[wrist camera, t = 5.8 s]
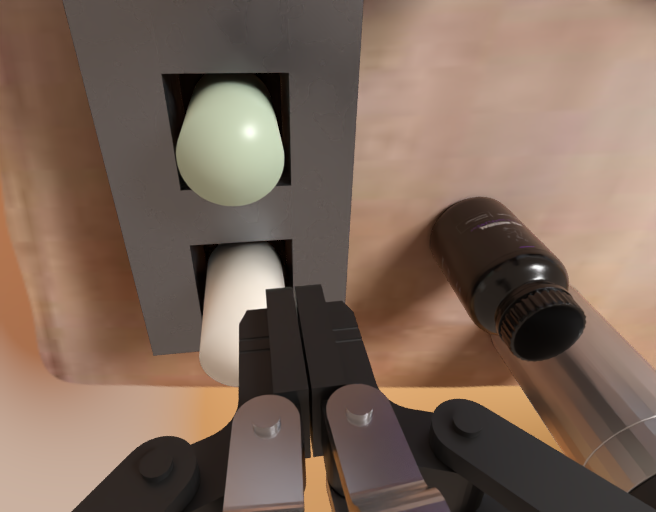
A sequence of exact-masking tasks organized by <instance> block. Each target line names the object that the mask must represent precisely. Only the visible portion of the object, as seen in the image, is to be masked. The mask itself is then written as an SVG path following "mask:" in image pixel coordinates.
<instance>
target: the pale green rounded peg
mask: <svg viewBox="0 0 656 512" xmlns="http://www.w3.org/2000/svg"><path fill="white" fill-rule="evenodd" d="M176 159H177V164H178V168H179V171H180V173H181V175H182V177H183V179H184V181H185V182H186V183H187V185H188V186H189V187H190V188H191V189H192V190H193V191H194V192H195V193H196V194H198V195H199V196H200V197H202V198H204V199H206V200H208V201H210V202H212V203H215V204H219V205H223V206H243V205H247V204H250V203H253V202H256V201H258V200H260V199H261V198H263V197H264V196H266V195H267V194H268V193H269V192H270V191H271V190H272V189H273V188H274V187H275V186H276V184H277V183H278V181H279V179H280V177H281V174H282V171H283V167H284V150H283V146H282V141H281V137H280V133H279V128H278V124H277V120H276V116H275V111H274V107H273V103H272V98H271V95H270V93H269V91H268V89H267V87H266V86H265V84H264V83H263V82H262V81H261V80H260V79H259V78H258V77H257V76H256V75H255V74H253V73H206V74H205V75H204V76H203V77H202V78H201V79H200V80H199V81H198V83H197V84H196V86H195V88H194V90H193V93H192V96H191V100H190V103H189V106H188V109H187V113H186V116H185V119H184V122H183V126H182V129H181V132H180V135H179V139H178V142H177V147H176Z"/></svg>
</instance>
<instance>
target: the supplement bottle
mask: <svg viewBox="0 0 656 512" xmlns="http://www.w3.org/2000/svg"><path fill="white" fill-rule="evenodd" d="M430 247H431V252H432V254H433V256H434V258H435V260H436V262H437V264H438V265H439V267H440V269H441V270H442V272H443V274H444V275H445V277H446V278H447V280H448V282H449V283H450V285H451V287H452V288H453V290H454V292H455V293H456V295H457V297H458V298H459V300H460V302H461V303H462V305H463V307H464V308H465V310H466V311H467V313H468V315H469V316H470V318H471V319H472V321H473V322H474V323H475V324H476V325H477V326H478V327H479V328H480V329H482V330H484V331H485V332H487V333H490V334H493V335H496V336H499V337H500V338H501V340H502V341H503V342H504V343H505V344H506V345H507V347H508V348H509V350H510V351H511V353H512V354H513V355H515V356H516V357H517V358H520V359H521V360H526V361H528V362H529V361H533V362H536V361H543V360H548V359H550V358H552V357H556V356H557V355H559V354H562V353H563V352H564V351H566V350H568V349H569V348H570V347H571V346H572V345H574V344H575V342H576V341H577V340H578V339H579V338H580V336H581V335H582V334H583V330H584V329H585V324H586V320H585V319H586V315H585V314H584V311H583V309H582V308H581V307H580V306H579V305H578V304H577V303H576V301H575V300H574V299H573V297H572V296H571V294H570V293H569V292H568V291H569V278H568V274H567V271H566V269H565V267H564V265H563V264H562V262H561V261H560V260H559V259H558V258H557V257H556V256H555V255H554V254H553V253H552V252H551V251H550V250H549V249H548V248H547V247H546V246H545V245H544V244H543V243H542V242H541V241H540V240H539V239H538V238H537V237H536V236H535V235H534V234H533V233H532V232H531V231H530V230H529V229H528V228H527V227H526V226H525V225H524V224H523V223H522V222H521V221H520V220H519V219H518V218H517V217H516V216H515V215H514V214H513V213H512V212H511V211H510V210H509V209H508V208H507V207H506V206H504V205H503V204H502V203H500V202H499V201H497V200H495V199H491V198H487V197H474V198H469V199H465V200H463V201H460V202H458V203H456V204H454V205H453V206H451V207H450V208H449V209H447V210H446V211H445V212H444V213H443V214H442V215H441V216H440V218H439V219H438V220H437V222H436V223H435V225H434V227H433V230H432V233H431V237H430Z"/></svg>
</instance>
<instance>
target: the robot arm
mask: <svg viewBox="0 0 656 512" xmlns="http://www.w3.org/2000/svg"><path fill="white" fill-rule="evenodd" d="M265 290H266V304H267V308H264V309H253V310H247V311H246V313H245V314H244V316H243V318H242V320H241V321H240V323H239V402H238V408H237V411H236V413H235V415H234V417H233V418H232V420H231V421H230V422H229V423H228V424H227V426H225V427H224V428H223V429H222V430H221V431H219V432H217V433H216V434H214V435H212V436H210V437H208V438H206V439H203V440H201V441H198V442H196V443H194V444H191V445H190V444H189V443H188V442H187V441H185V440H183V439H181V438H179V437H174V436H163V437H158V438H154V439H152V440H149V441H147V442H145V443H143V444H142V445H140V446H139V447H137V448H136V449H135V450H134V451H133V452H131V454H129V455H128V456H127V457H126V458H125V459H124V460H123V461H122V462H121V463H120V464H119V465H118V466H117V467H116V468H115V469H114V470H113V471H112V472H111V473H110V474H109V475H108V476H107V477H106V478H105V479H104V480H103V481H102V482H101V483H100V484H99V485H98V486H97V487H96V488H95V489H94V490H93V491H92V492H91V493H90V494H89V495H88V496H87V497H86V498H85V499H84V500H83V501H82V502H81V503H80V504H79V505H78V506H77V507H76V508H75V509H74V510H73V511H72V512H304V491H305V487H306V469H305V458H310V457H311V452H310V436H311V443H312V449H313V457H316V456H324V462H325V468H326V487H327V493H328V496H329V501H330V505H331V509H332V512H656V370H655V369H654V368H653V367H652V366H651V365H650V364H649V363H648V362H647V361H646V360H645V359H644V358H643V357H642V356H641V355H640V354H639V353H638V352H637V351H636V350H635V349H634V348H633V347H632V346H631V345H630V344H629V343H628V342H627V341H626V340H625V339H624V338H623V337H622V336H621V335H620V334H619V333H618V332H617V331H616V330H615V329H614V328H613V327H612V326H611V325H610V324H609V323H608V322H607V321H606V319H605V318H604V317H603V316H602V315H601V314H600V313H599V312H598V311H597V310H596V309H595V308H594V307H593V306H592V305H591V304H590V303H589V302H588V301H587V300H586V299H585V298H584V297H583V296H582V295H581V294H580V293H579V292H578V291H577V290H575V289H574V288H572V287H571V286H569V291H568V292H569V293H570V294H571V296H572V297H573V299H574V300H575V301H576V303H577V304H578V305H579V306H580V307H581V308H582V309H583V311H584V314H585V315H586V319H585V320H586V324H585V329H584V330H583V334H582V335H581V336H580V338H579V339H578V340H577V341H576V342H575V344H574V345H572V346H571V347H570V348H569V349H568V350H566V351H564V352H563V353H562V354H559V355H557V356H556V357H552V358H550V359H548V360H543V361H536V362H533V361H529V362H528V361H526V360H521V359H520V358H517V357H516V356H515V355H513V354H512V353H511V351H510V350H509V348H508V347H507V345H506V344H505V343H504V342H503V341H502V340H501V338H500V337H499V336H496V335H493V334H491V339H492V343H493V344H494V346H495V348H496V349H497V351H498V353H499V354H500V356H501V357H502V359H503V360H504V362H505V363H506V365H507V366H508V368H509V370H510V371H511V373H512V374H513V376H514V378H515V379H516V381H517V382H518V384H519V385H520V387H521V388H522V390H523V391H524V393H525V394H526V396H527V398H528V399H529V401H530V402H531V404H532V405H533V407H534V408H535V410H536V411H537V413H538V414H539V416H540V417H541V419H542V421H543V422H544V424H545V425H546V427H547V428H548V430H549V431H550V433H551V435H552V436H553V438H554V439H555V441H556V442H557V443H558V445H559V447H560V448H561V450H562V451H563V453H564V454H562V453H560V452H559V451H557V450H555V449H554V448H552V447H550V446H549V445H547V444H545V443H544V442H542V441H540V440H539V439H537V438H535V437H534V436H532V435H530V434H529V433H527V432H525V431H524V430H522V429H520V428H519V427H517V426H515V425H514V424H512V423H510V422H509V421H507V420H505V419H504V418H502V417H500V416H499V415H497V414H495V413H494V412H492V411H490V410H489V409H487V408H485V407H484V406H482V405H480V404H478V403H476V402H473V401H470V400H466V399H452V400H448V401H445V402H443V403H441V404H440V405H439V406H438V407H437V408H436V409H435V411H434V413H433V412H426V411H420V410H413V409H408V408H404V407H401V406H399V405H397V404H395V403H393V402H391V401H390V400H388V399H387V397H386V396H385V395H384V394H383V393H382V392H381V391H380V390H379V388H378V386H377V384H376V381H375V378H374V375H373V372H372V368H371V365H370V362H369V359H368V356H367V353H366V350H365V347H364V344H363V341H362V337H361V334H360V331H359V329H358V325H357V322H356V319H355V316H354V312H353V311H352V310H351V309H350V308H349V307H348V306H347V305H346V304H345V303H344V302H343V301H333V302H326V301H325V297H324V293H323V289H322V286H321V284H315V285H304V286H294V295H293V289H292V287H284V288H273V289H265Z"/></svg>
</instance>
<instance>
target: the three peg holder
mask: <svg viewBox="0 0 656 512" xmlns="http://www.w3.org/2000/svg"><path fill="white" fill-rule="evenodd" d="M63 4H64V8H65V12H66V16H67V20H68V24H69V28H70V32H71V36H72V39H73V43H74V47H75V51H76V55H77V59H78V63H79V67H80V71H81V75H82V78H83V82H84V86H85V90H86V94H87V98H88V102H89V106H90V110H91V114H92V117H93V121H94V125H95V129H96V133H97V137H98V141H99V145H100V149H101V153H102V156H103V160H104V164H105V168H106V172H107V176H108V180H109V184H110V188H111V192H112V195H113V199H114V203H115V207H116V211H117V215H118V219H119V223H120V227H121V230H122V234H123V238H124V242H125V246H126V250H127V254H128V258H129V262H130V266H131V269H132V273H133V277H134V281H135V285H136V289H137V293H138V297H139V301H140V305H141V308H142V312H143V316H144V320H145V324H146V328H147V332H148V336H149V340H150V344H151V347H152V351H153V355H154V356H155V355H165V354H176V353H186V352H196V351H200V342H201V331H202V320H203V309H204V298H205V288H206V277H207V265H206V258H205V252H204V245H203V244H219V243H235V242H251V241H267V240H283V239H285V248H286V265H282V270H283V277H284V284H285V287H292V289H293V295H294V286H304V285H315V284H321V286H322V289H323V293H324V297H325V301H326V302H333V301H343V302H344V303H345V298H346V282H347V265H348V248H349V232H350V215H351V199H352V182H353V166H354V149H355V132H356V116H357V99H358V83H359V66H360V50H361V33H362V17H363V0H63ZM179 73H280V77H281V111H282V146H283V150H284V167H283V171H282V174H281V177H280V179H279V181H278V183H277V184H276V186H275V187H274V188H273V189H272V190H271V191H270V192H269V193H268V194H267V195H266V196H264V197H263V198H261V199H260V200H258V201H256V202H253V203H250V204H247V205H243V206H223V205H219V204H215V203H212V202H210V201H208V200H206V199H204V198H202V197H200V196H199V195H198V194H196V193H195V192H194V191H193V190H192V189H191V188H190V187H189V186H188V185H187V183H186V182H185V181H184V179H183V177H182V175H181V173H180V171H179V168H178V164H177V159H176V147H177V142H178V139H179V135H180V132H181V129H182V126H183V122H184V119H185V114H184V107H183V100H182V93H181V87H180V80H179Z"/></svg>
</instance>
